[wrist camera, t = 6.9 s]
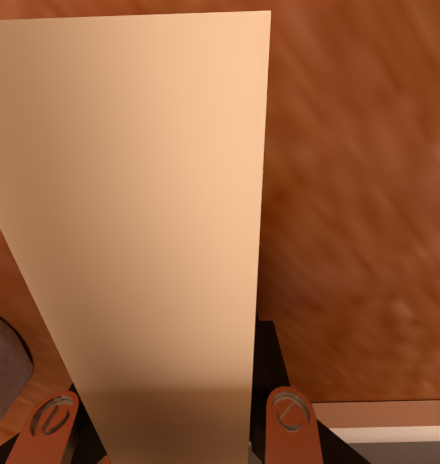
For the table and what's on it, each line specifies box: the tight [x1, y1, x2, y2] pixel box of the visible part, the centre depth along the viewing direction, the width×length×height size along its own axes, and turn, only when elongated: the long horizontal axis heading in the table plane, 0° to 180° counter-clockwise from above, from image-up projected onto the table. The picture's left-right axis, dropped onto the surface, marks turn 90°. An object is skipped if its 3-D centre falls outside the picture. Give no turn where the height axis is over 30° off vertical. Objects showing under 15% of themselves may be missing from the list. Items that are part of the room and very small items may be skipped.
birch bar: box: [0, 11, 271, 464], centre depth 9 cm, size 4×18×5 cm, turn 2°
